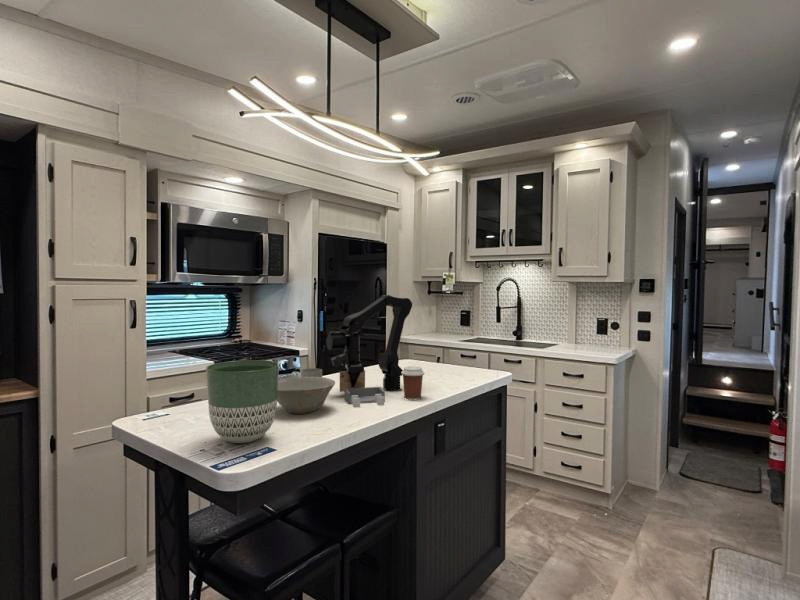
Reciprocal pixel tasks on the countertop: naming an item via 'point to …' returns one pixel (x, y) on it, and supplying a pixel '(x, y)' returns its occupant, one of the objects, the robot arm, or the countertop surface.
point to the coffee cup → (412, 382)
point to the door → (346, 382)
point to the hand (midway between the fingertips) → (352, 386)
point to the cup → (311, 372)
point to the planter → (242, 398)
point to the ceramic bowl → (303, 393)
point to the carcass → (365, 396)
